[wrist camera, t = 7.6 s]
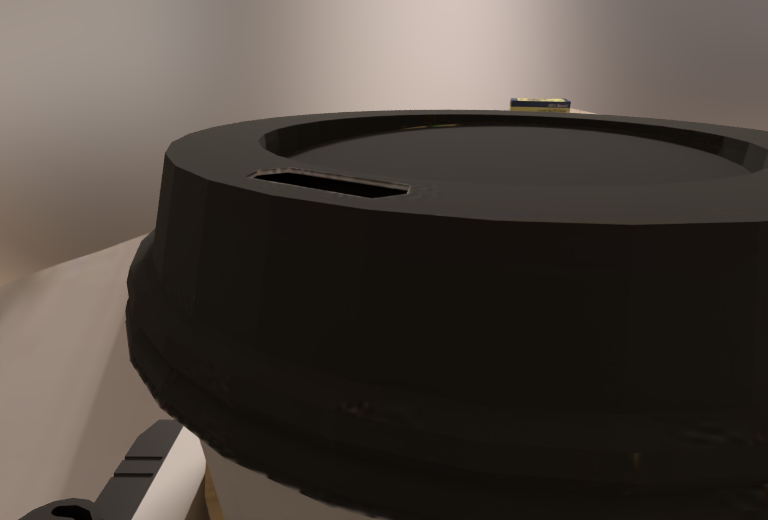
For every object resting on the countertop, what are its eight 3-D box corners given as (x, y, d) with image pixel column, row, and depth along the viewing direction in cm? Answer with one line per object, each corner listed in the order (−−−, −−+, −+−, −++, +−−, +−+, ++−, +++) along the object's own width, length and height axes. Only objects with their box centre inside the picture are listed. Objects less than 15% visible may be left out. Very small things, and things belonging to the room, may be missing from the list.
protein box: (564, 160, 138) (571, 100, 132) (505, 158, 141) (510, 100, 135) (559, 154, 148) (566, 98, 142) (504, 152, 150) (509, 97, 145)
